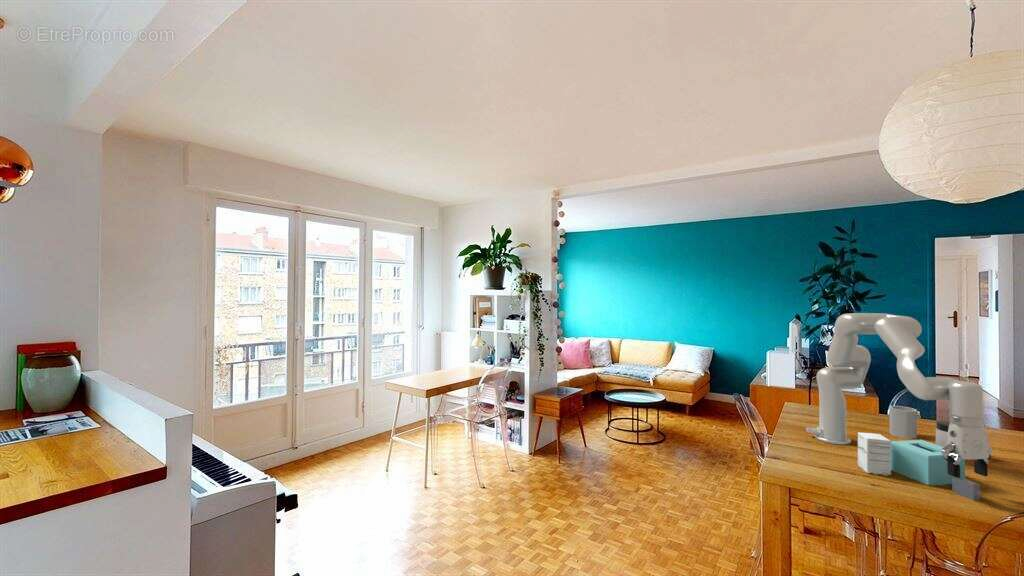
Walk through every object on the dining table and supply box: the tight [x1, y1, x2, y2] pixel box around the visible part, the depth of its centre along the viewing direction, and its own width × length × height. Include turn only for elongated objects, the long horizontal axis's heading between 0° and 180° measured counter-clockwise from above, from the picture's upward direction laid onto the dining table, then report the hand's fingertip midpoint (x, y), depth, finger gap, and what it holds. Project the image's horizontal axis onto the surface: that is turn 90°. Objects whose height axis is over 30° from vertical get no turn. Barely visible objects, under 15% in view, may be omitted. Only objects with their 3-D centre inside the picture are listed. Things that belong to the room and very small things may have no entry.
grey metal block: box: [951, 476, 981, 501], centre depth 139 cm, size 2×6×5 cm, turn 6°
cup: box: [889, 405, 918, 439], centre depth 197 cm, size 9×9×12 cm
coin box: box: [890, 439, 966, 486], centre depth 154 cm, size 14×14×10 cm
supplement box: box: [857, 431, 892, 476], centre depth 158 cm, size 7×7×13 cm
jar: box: [935, 420, 950, 447], centre depth 174 cm, size 9×8×12 cm
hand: (967, 475), depth 138 cm, fingers open, 9 cm apart
